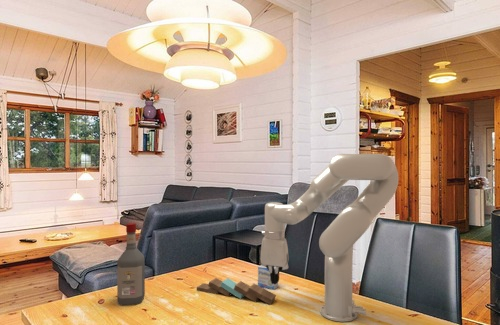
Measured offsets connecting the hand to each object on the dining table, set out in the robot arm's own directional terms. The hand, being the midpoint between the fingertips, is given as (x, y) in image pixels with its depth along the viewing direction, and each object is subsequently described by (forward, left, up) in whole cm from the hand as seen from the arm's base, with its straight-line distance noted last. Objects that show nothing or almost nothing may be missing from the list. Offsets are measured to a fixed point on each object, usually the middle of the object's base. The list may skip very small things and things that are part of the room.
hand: (274, 282), depth 131 cm
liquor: (+51, +23, -8) cm, 56 cm away
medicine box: (+9, -14, -8) cm, 19 cm away
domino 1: (+24, 0, -7) cm, 25 cm away
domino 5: (+1, 0, -7) cm, 7 cm away
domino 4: (+7, 0, -7) cm, 9 cm away
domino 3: (+13, 0, -7) cm, 15 cm away
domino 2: (+19, 0, -7) cm, 20 cm away
